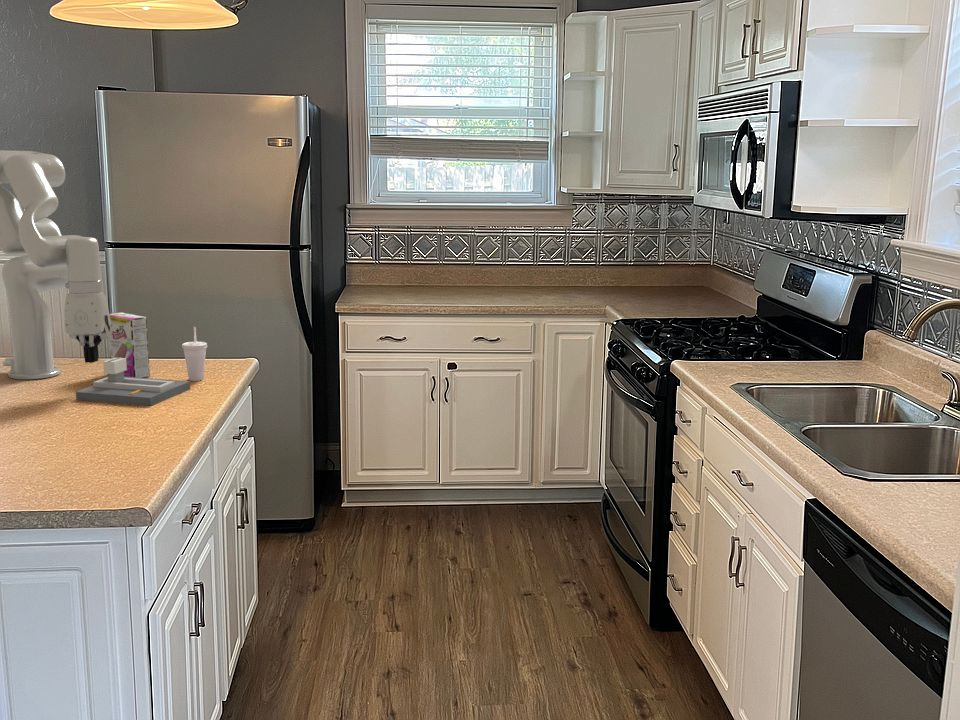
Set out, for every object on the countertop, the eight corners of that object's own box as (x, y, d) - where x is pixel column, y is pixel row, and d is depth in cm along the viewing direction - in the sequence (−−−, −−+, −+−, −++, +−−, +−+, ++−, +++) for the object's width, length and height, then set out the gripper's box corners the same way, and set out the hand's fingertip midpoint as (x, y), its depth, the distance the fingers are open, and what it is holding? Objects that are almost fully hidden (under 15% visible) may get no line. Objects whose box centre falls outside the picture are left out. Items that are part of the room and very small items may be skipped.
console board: (76, 399, 230) (75, 387, 229) (120, 383, 247) (119, 371, 247) (150, 406, 226) (150, 392, 225) (190, 389, 243) (189, 376, 242)
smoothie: (212, 377, 256) (210, 325, 253) (203, 382, 250) (201, 329, 247) (189, 376, 257) (186, 325, 254) (179, 381, 250) (177, 329, 248)
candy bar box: (109, 374, 258) (105, 314, 254) (125, 371, 262) (122, 311, 258) (134, 380, 251) (131, 318, 248) (150, 377, 255) (147, 316, 252)
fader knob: (104, 385, 235) (103, 360, 234) (116, 380, 240) (115, 356, 238) (115, 386, 234) (114, 361, 233) (127, 381, 239) (126, 357, 238)
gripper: (48, 289, 232) (55, 363, 235) (103, 290, 228) (109, 365, 232) (68, 285, 239) (75, 358, 242) (121, 286, 236) (127, 360, 239)
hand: (91, 361), depth 237 cm, fingers closed
